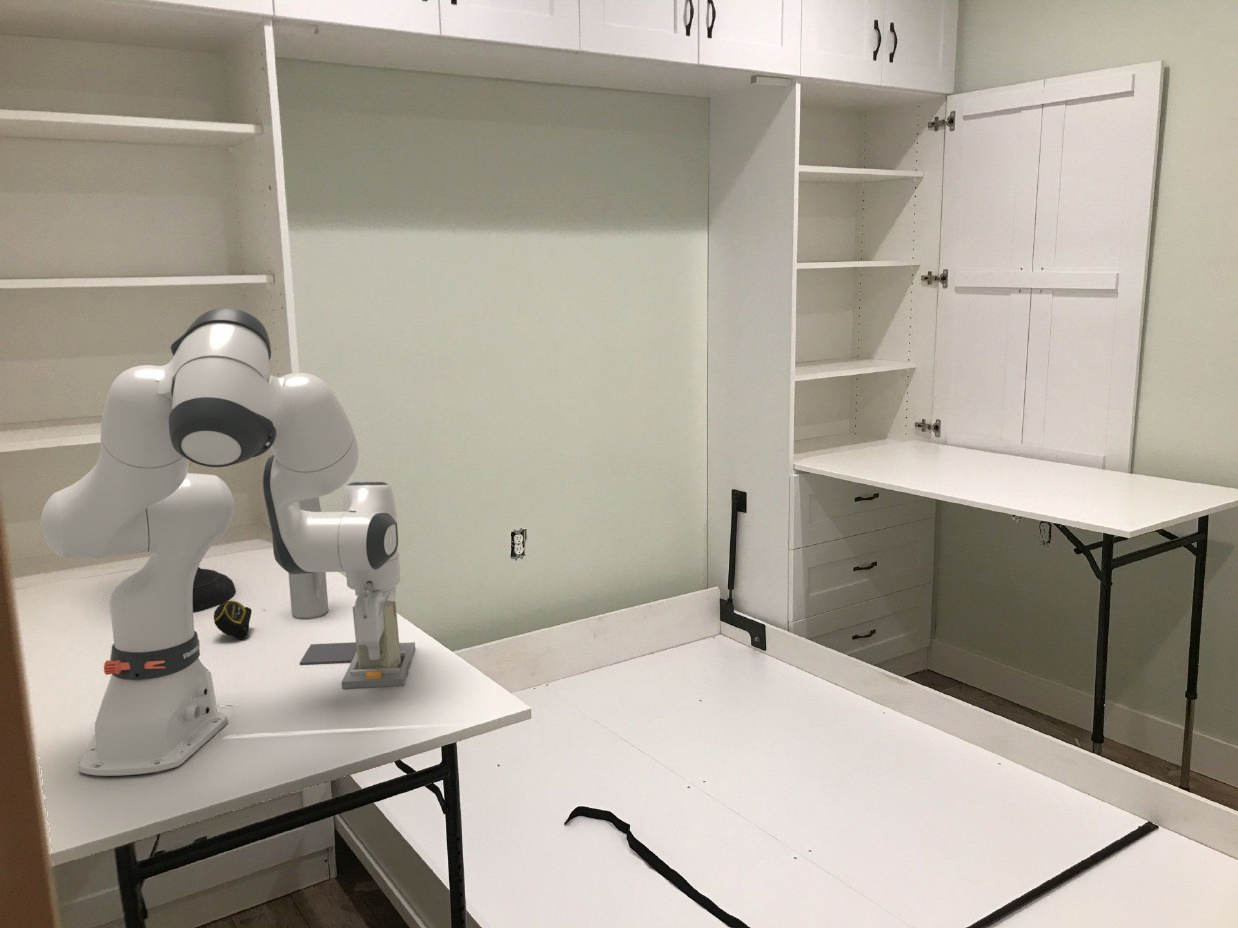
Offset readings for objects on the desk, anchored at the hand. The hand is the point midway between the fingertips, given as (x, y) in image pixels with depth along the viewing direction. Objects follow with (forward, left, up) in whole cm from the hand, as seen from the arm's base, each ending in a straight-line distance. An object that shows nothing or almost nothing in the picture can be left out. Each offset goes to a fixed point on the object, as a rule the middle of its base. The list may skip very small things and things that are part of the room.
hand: (378, 650), depth 169 cm
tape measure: (+21, +30, -4) cm, 37 cm away
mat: (+9, +10, -4) cm, 14 cm away
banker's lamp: (+45, +49, -4) cm, 67 cm away
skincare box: (0, 0, -4) cm, 4 cm away
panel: (+1, 0, -4) cm, 4 cm away
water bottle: (+31, +18, -4) cm, 36 cm away
